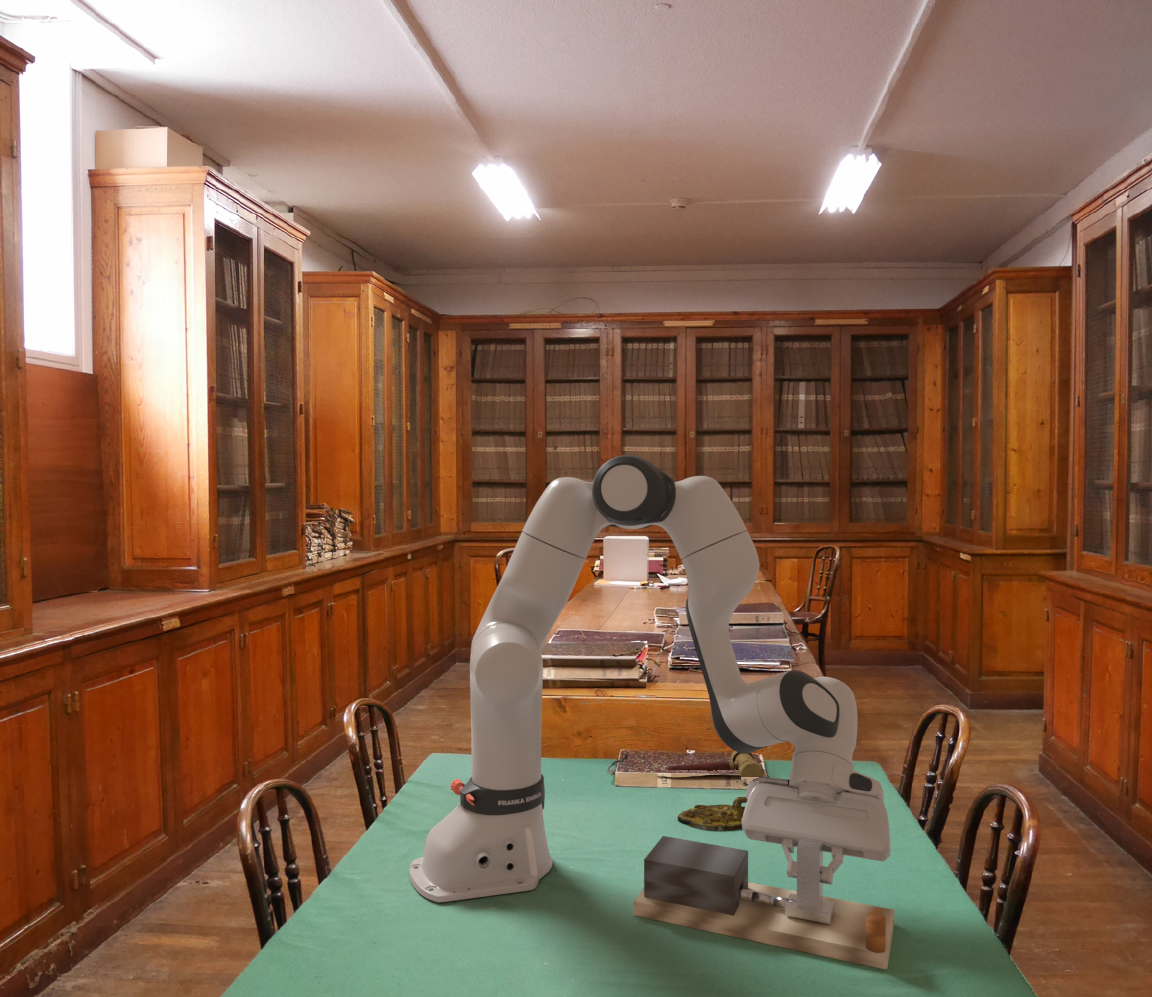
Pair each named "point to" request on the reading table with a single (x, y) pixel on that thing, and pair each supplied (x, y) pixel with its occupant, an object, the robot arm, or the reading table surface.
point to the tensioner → (752, 905)
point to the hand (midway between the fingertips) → (809, 879)
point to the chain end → (801, 887)
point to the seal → (715, 816)
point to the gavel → (728, 765)
